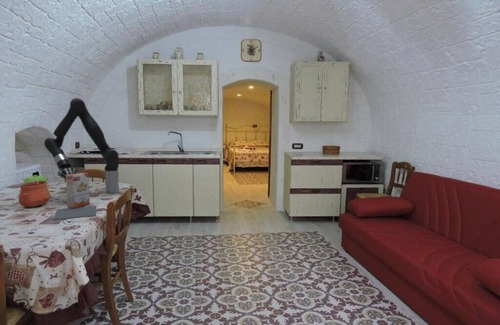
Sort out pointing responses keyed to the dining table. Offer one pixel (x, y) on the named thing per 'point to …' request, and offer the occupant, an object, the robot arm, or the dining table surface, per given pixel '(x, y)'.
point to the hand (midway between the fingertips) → (72, 182)
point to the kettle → (35, 178)
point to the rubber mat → (75, 212)
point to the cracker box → (77, 190)
